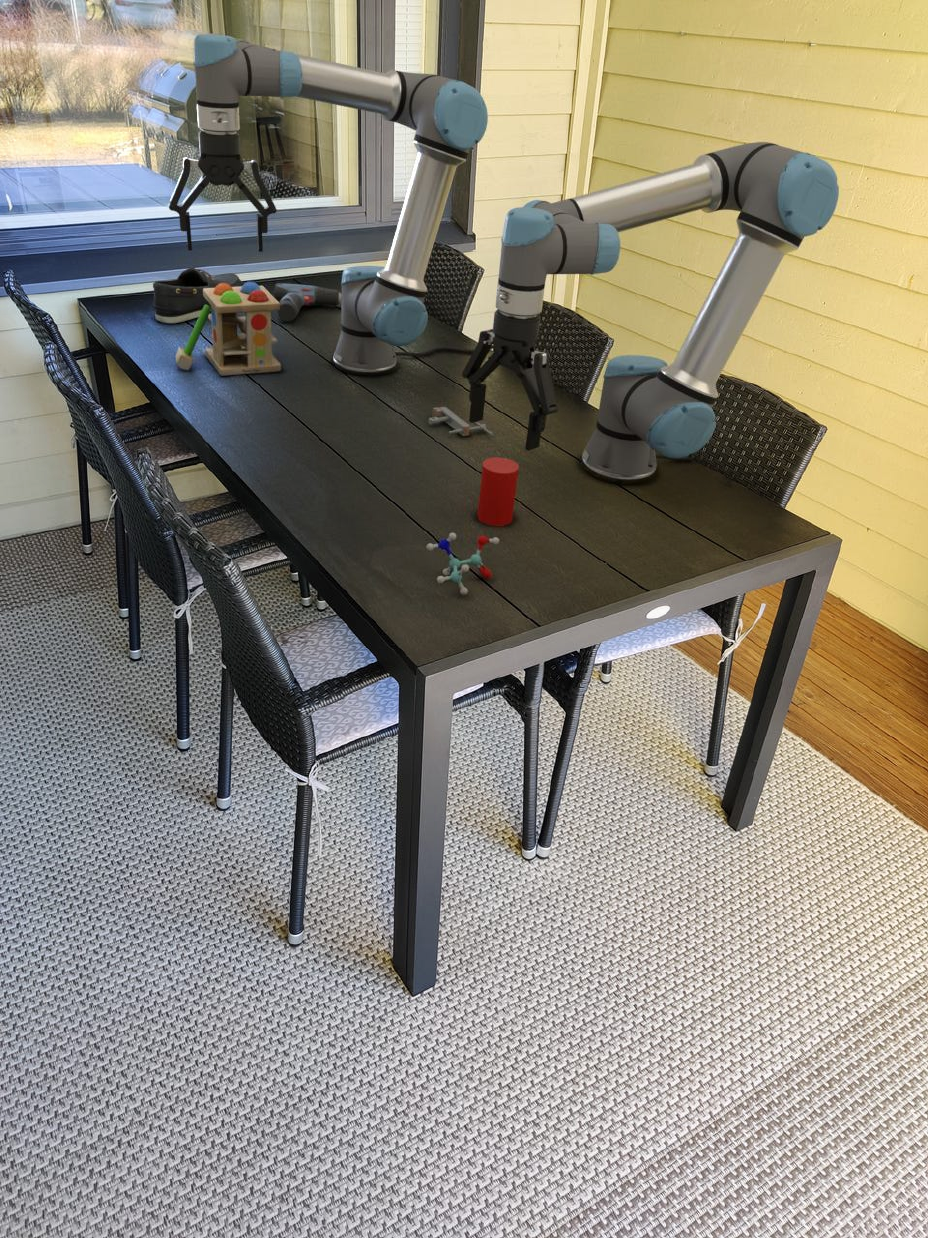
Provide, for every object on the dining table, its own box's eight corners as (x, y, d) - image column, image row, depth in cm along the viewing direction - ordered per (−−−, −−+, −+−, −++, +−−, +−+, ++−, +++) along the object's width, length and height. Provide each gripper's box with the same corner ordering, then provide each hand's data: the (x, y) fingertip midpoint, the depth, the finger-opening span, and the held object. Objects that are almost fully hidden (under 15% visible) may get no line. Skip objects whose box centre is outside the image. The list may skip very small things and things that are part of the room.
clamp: (420, 409, 212) (460, 403, 217) (420, 418, 213) (460, 412, 218) (454, 436, 202) (496, 430, 206) (454, 446, 203) (495, 439, 208)
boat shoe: (261, 302, 273) (259, 263, 267) (172, 325, 249) (168, 283, 243) (227, 293, 278) (225, 255, 273) (137, 316, 254) (132, 274, 249)
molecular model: (490, 589, 152) (470, 528, 150) (436, 605, 155) (416, 545, 154) (511, 574, 162) (492, 517, 161) (460, 589, 166) (441, 533, 164)
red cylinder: (475, 508, 181) (480, 456, 176) (509, 509, 182) (515, 457, 176) (479, 525, 176) (485, 472, 170) (514, 526, 177) (521, 473, 171)
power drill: (335, 306, 256) (344, 285, 273) (264, 300, 255) (277, 279, 272) (335, 327, 259) (344, 304, 276) (264, 320, 258) (277, 299, 275)
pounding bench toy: (183, 379, 220) (176, 299, 210) (169, 357, 231) (162, 280, 221) (282, 371, 230) (280, 294, 220) (264, 350, 240) (262, 276, 230)
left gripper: (149, 131, 176) (159, 252, 188) (289, 137, 183) (290, 255, 195) (149, 124, 182) (159, 242, 194) (284, 130, 189) (286, 245, 200)
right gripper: (448, 294, 163) (438, 414, 175) (560, 338, 149) (541, 465, 161) (480, 288, 167) (468, 405, 179) (591, 330, 153) (571, 454, 165)
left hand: (225, 249), depth 194 cm, fingers open, 13 cm apart
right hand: (503, 434), depth 170 cm, fingers open, 13 cm apart
